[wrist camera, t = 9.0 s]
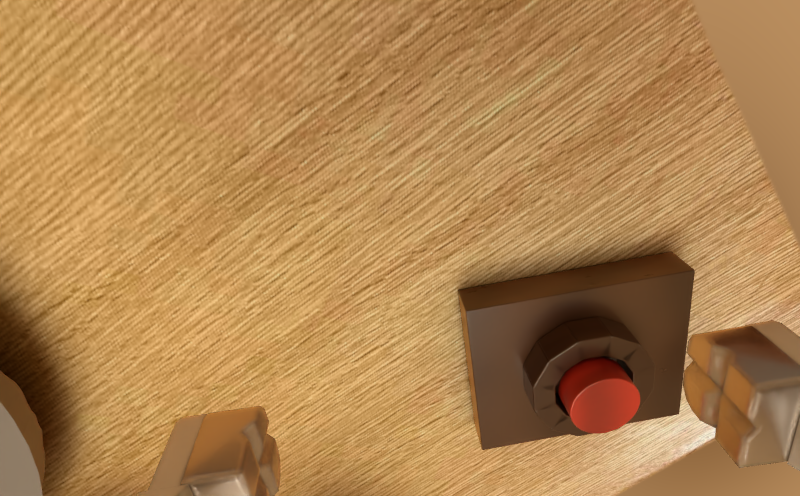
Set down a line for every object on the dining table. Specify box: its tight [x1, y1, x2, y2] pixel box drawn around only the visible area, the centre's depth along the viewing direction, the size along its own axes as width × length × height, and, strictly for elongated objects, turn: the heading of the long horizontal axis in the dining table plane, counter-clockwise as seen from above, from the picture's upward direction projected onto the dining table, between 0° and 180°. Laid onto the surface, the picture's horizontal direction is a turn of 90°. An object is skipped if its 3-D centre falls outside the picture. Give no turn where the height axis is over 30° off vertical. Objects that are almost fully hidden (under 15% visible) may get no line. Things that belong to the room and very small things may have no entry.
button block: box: [458, 252, 695, 450], centre depth 29 cm, size 12×10×4 cm
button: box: [559, 357, 640, 433], centre depth 27 cm, size 4×4×2 cm
